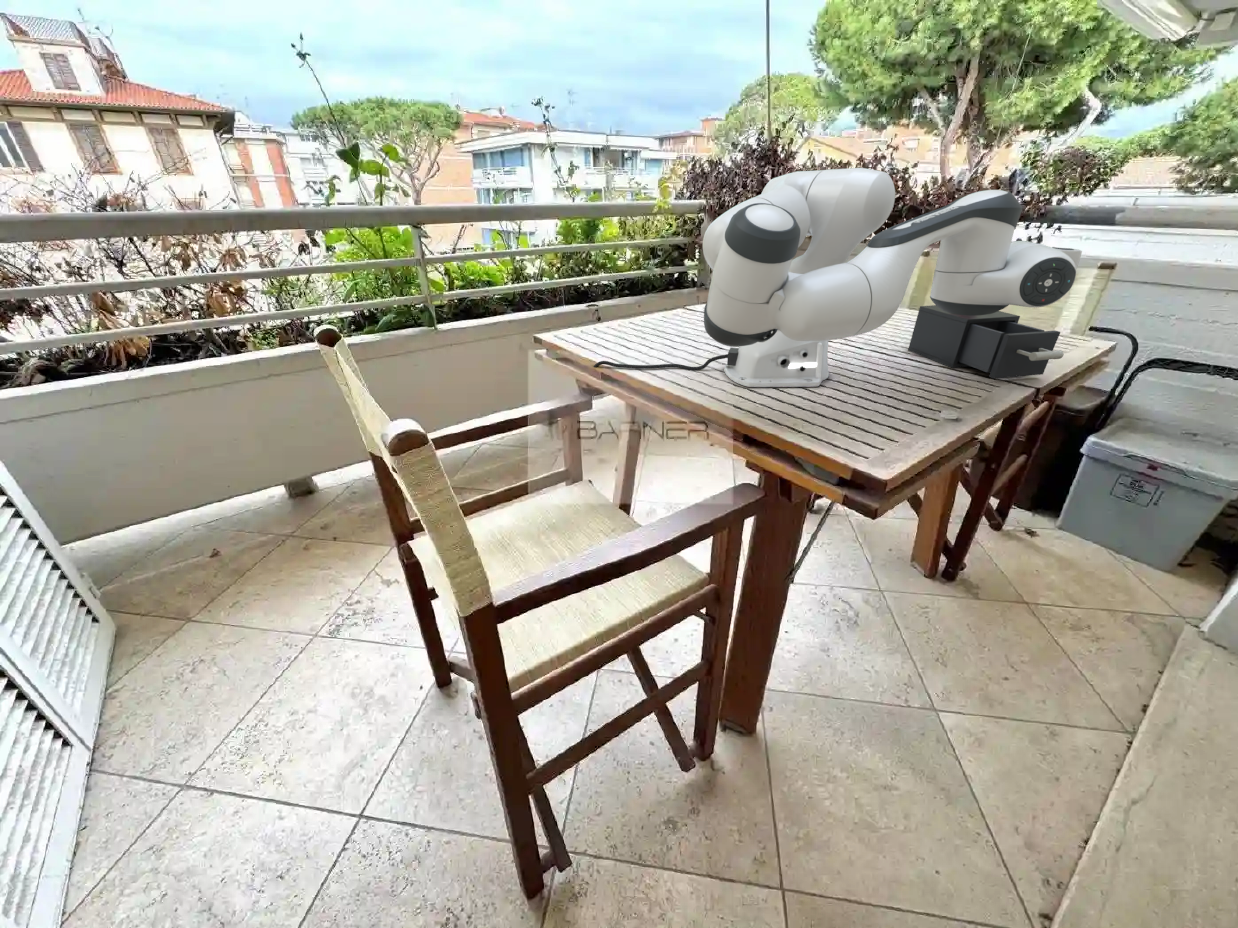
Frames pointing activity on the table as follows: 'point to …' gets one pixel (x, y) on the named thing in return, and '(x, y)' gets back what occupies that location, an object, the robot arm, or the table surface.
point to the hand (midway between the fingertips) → (993, 259)
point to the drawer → (1008, 349)
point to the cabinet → (946, 333)
